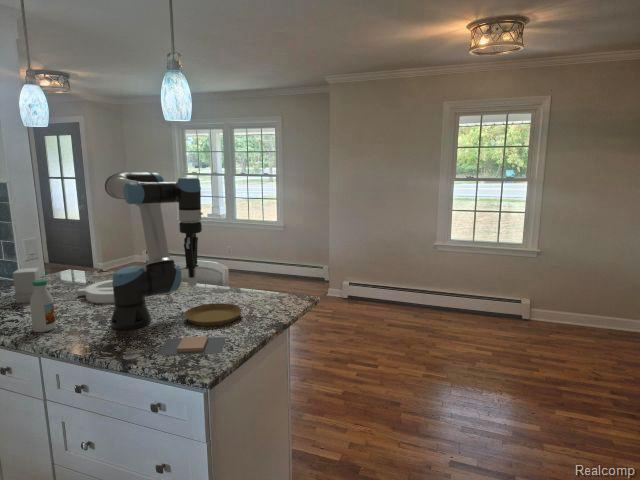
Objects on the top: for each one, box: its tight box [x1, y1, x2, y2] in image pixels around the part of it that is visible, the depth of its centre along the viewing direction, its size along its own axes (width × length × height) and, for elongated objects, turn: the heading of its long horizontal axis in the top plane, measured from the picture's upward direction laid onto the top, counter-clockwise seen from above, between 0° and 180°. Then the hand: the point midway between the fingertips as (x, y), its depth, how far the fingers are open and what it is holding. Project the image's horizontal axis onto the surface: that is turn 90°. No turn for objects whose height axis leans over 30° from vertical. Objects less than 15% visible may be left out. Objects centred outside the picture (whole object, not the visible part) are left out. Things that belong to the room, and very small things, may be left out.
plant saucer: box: [184, 302, 243, 327], centre depth 179 cm, size 24×24×3 cm
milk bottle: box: [29, 278, 57, 333], centre depth 163 cm, size 8×8×20 cm
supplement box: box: [12, 267, 42, 304], centre depth 199 cm, size 9×9×15 cm
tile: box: [177, 335, 209, 352], centre depth 150 cm, size 9×1×10 cm
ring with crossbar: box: [76, 279, 114, 304], centre depth 211 cm, size 28×28×5 cm
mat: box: [156, 336, 227, 356], centre depth 150 cm, size 22×14×1 cm, turn 96°
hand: (192, 285), depth 151 cm, fingers closed
